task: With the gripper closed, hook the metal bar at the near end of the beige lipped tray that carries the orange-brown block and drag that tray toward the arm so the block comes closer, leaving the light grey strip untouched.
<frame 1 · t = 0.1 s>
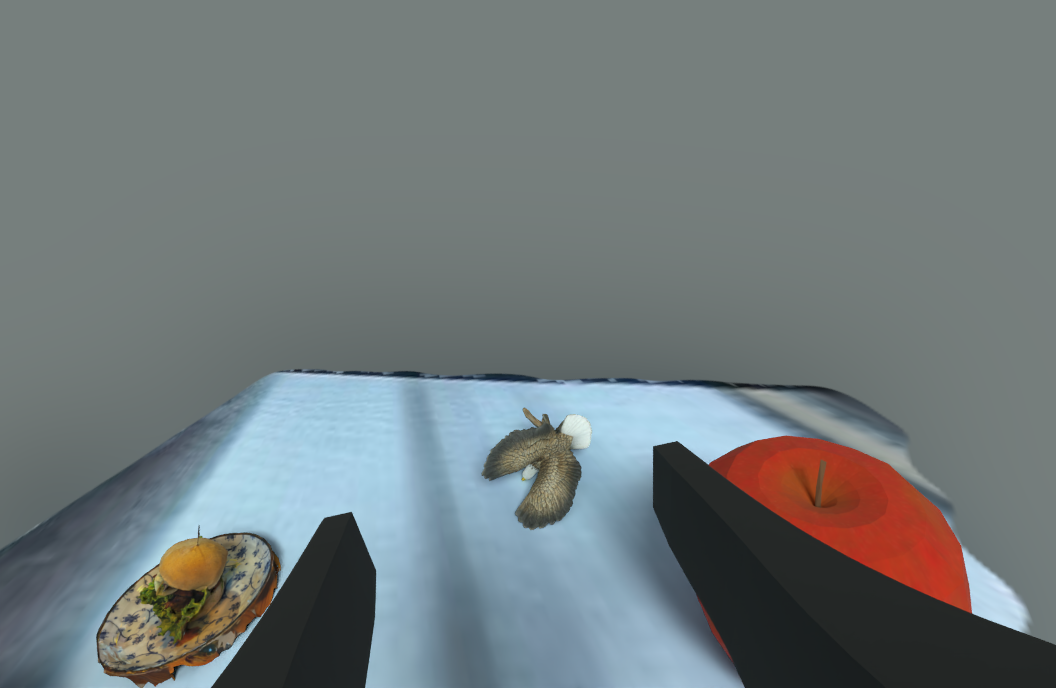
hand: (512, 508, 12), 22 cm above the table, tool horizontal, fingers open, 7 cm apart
grey-brown animal figure: (544, 487, 44), on the table
burger: (201, 610, 38), on the table
apple: (793, 660, 28), on the table
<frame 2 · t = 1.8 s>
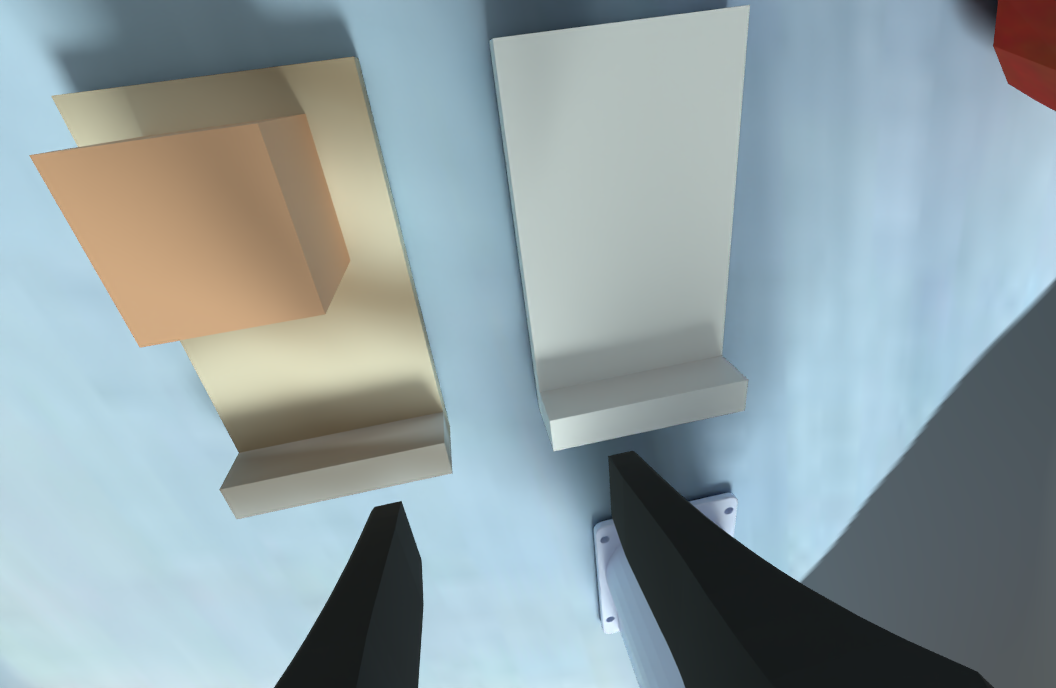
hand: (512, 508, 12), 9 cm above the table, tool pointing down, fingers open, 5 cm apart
beige lipped tray: (291, 312, 16), point 2 cm above the table, slide at 0.0 cm, touching block
block: (255, 203, 15), point 1 cm above the table, touching beige lipped tray
grey strip: (634, 251, 18), point 2 cm above the table, slide at 0.0 cm
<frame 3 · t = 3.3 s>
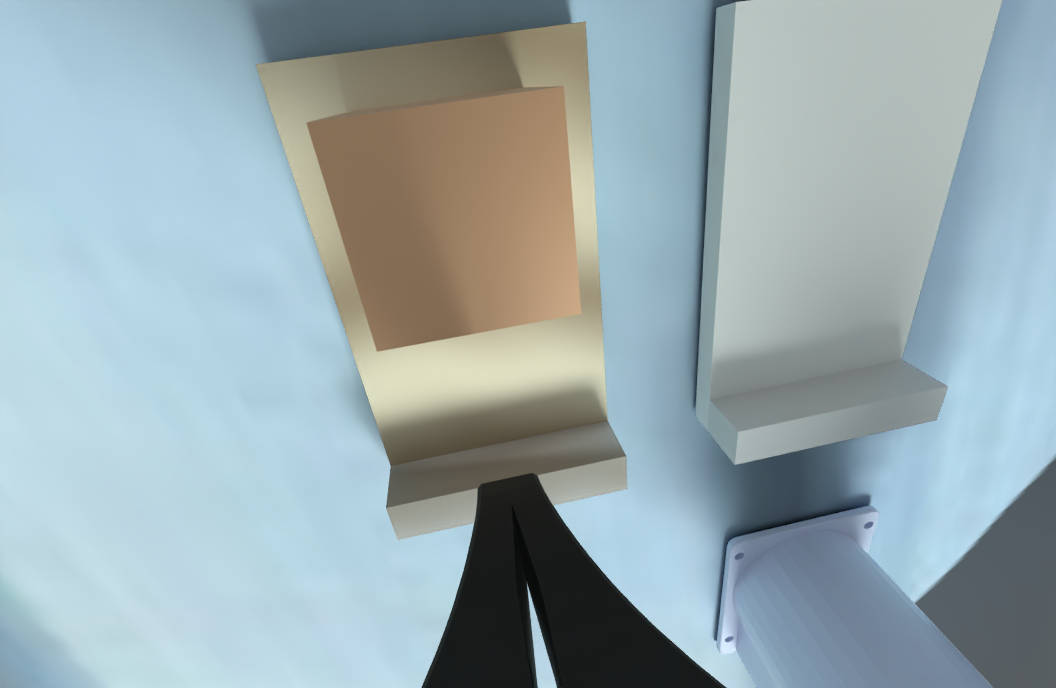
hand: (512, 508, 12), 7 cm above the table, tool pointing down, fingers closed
beige lipped tray: (476, 311, 15), point 2 cm above the table, slide at 0.0 cm, touching block
block: (453, 189, 14), point 1 cm above the table, touching beige lipped tray
grey strip: (843, 244, 16), point 2 cm above the table, slide at 0.0 cm
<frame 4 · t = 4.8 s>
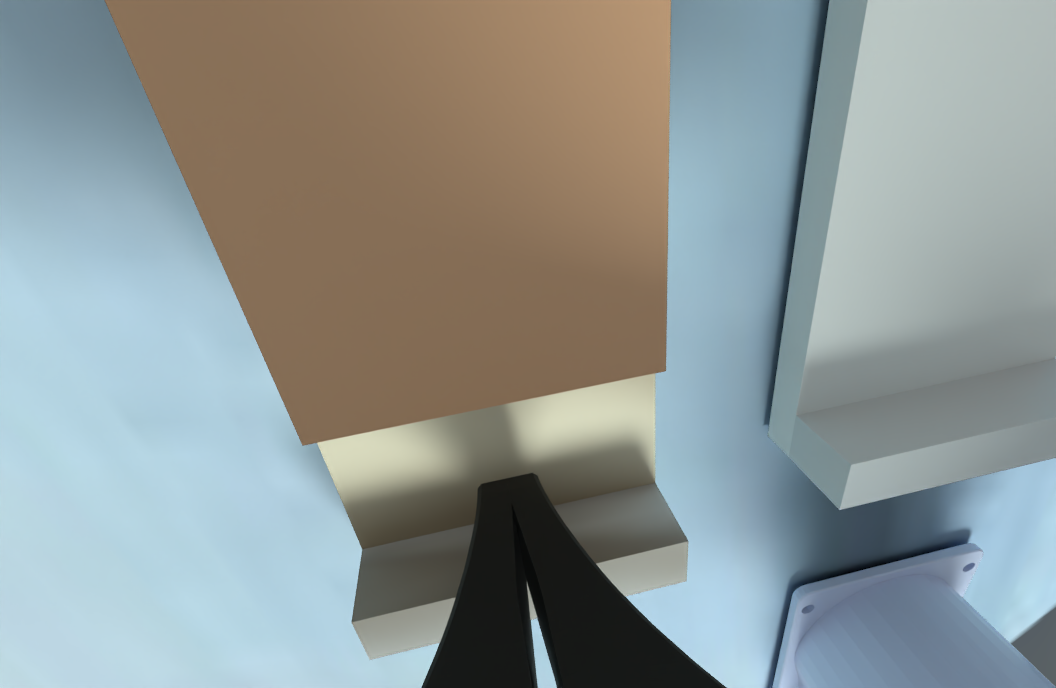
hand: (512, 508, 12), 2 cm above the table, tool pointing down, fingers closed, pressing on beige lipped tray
beige lipped tray: (479, 345, 10), point 2 cm above the table, slide at 1.3 cm, touching block, gripper
block: (444, 164, 9), point 1 cm above the table, touching beige lipped tray
grey strip: (1017, 187, 11), point 2 cm above the table, slide at 0.0 cm
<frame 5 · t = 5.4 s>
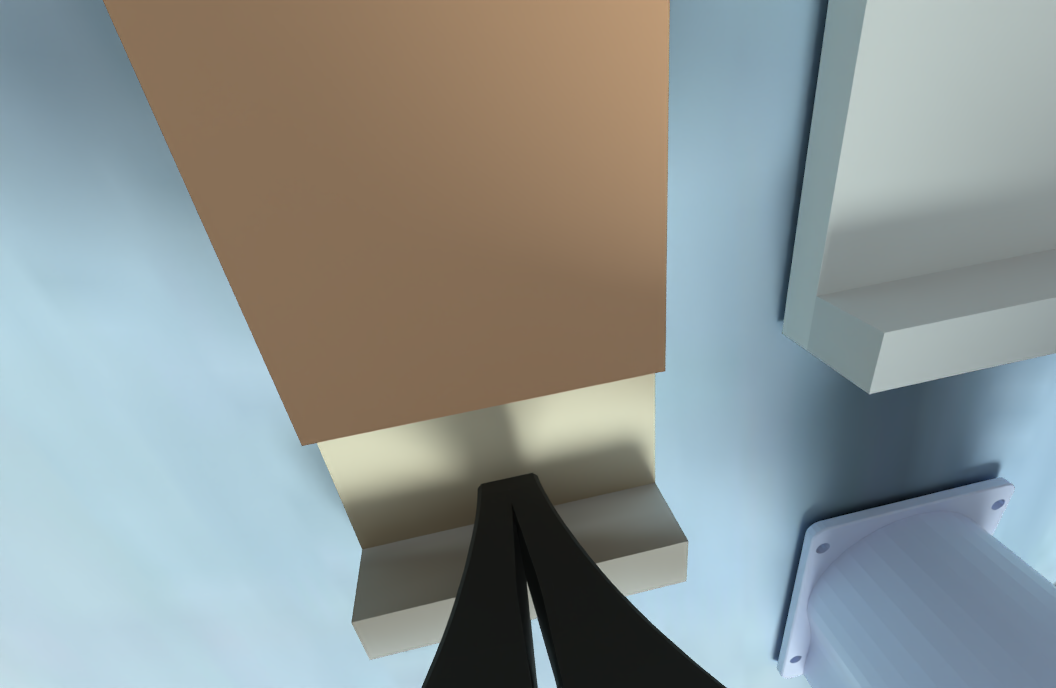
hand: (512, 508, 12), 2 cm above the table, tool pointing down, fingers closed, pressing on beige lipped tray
beige lipped tray: (479, 345, 10), point 2 cm above the table, slide at 4.8 cm, touching block, gripper
block: (443, 164, 9), point 1 cm above the table, touching beige lipped tray
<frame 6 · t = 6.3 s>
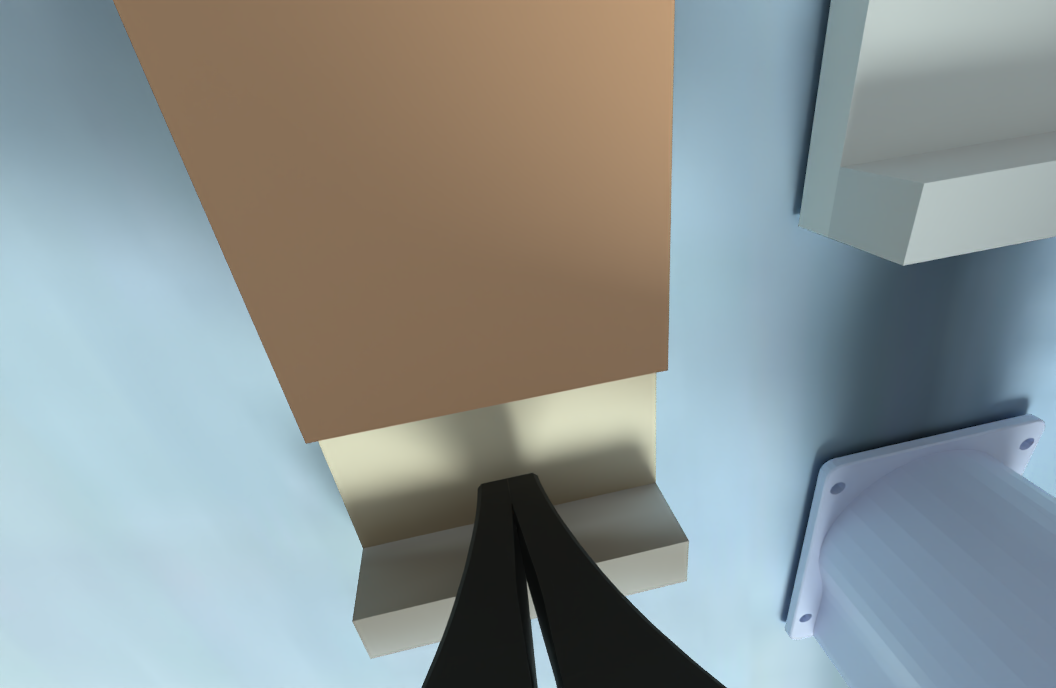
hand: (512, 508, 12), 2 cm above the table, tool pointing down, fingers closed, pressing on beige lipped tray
beige lipped tray: (481, 345, 10), point 2 cm above the table, slide at 7.8 cm, touching block, gripper
block: (446, 164, 9), point 1 cm above the table, touching beige lipped tray
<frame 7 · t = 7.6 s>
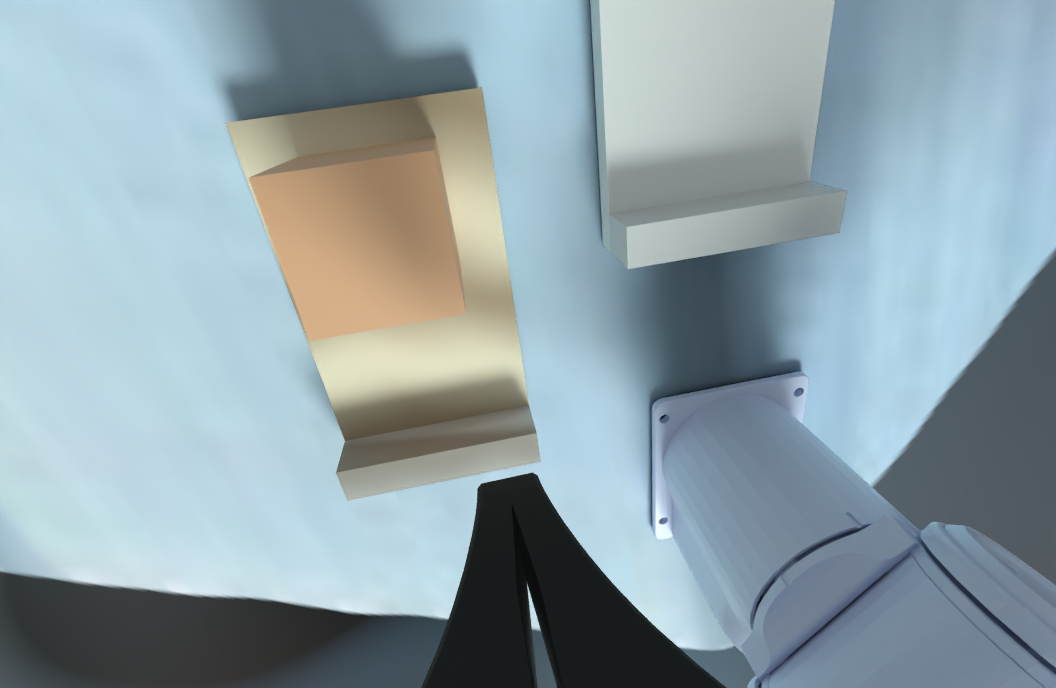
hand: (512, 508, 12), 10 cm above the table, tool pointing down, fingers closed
beige lipped tray: (407, 312, 18), point 2 cm above the table, slide at 7.8 cm, touching block
block: (384, 215, 17), point 1 cm above the table, touching beige lipped tray
grey strip: (727, 25, 16), point 2 cm above the table, slide at 0.0 cm
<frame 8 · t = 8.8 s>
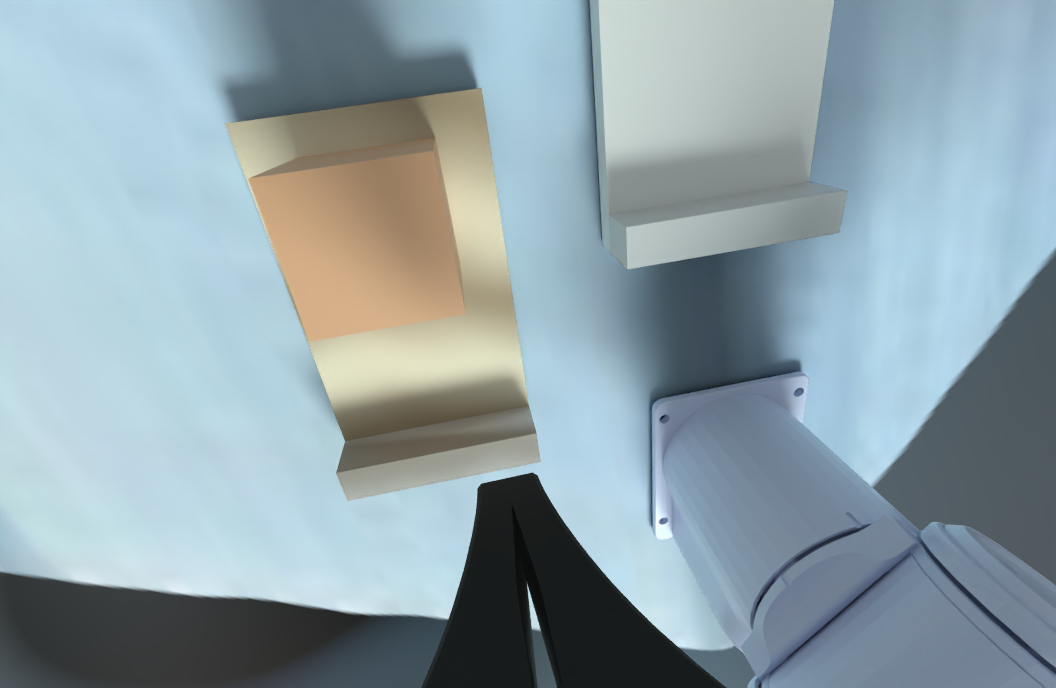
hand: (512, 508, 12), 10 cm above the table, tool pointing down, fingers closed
beige lipped tray: (407, 312, 18), point 2 cm above the table, slide at 7.8 cm, touching block
block: (384, 216, 17), point 1 cm above the table, touching beige lipped tray
grey strip: (726, 25, 16), point 2 cm above the table, slide at 0.0 cm
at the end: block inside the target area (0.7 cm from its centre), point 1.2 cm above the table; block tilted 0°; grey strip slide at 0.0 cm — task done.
